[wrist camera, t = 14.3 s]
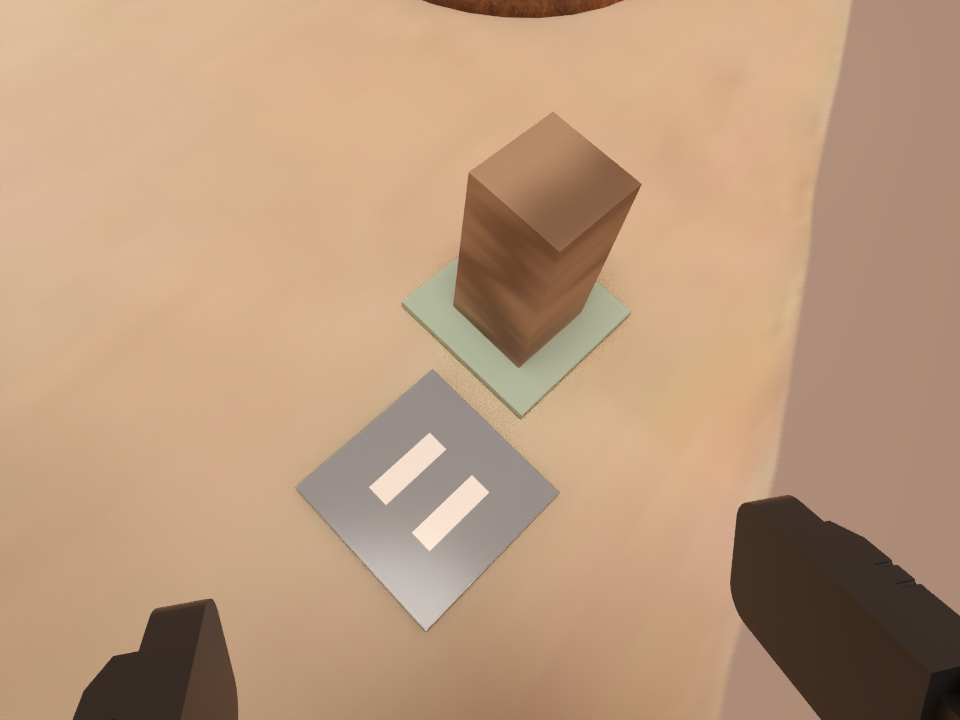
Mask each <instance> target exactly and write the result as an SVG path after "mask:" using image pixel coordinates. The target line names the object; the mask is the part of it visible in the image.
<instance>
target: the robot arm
mask: <svg viewBox="0 0 960 720" xmlns="http://www.w3.org/2000/svg"><path fill="white" fill-rule="evenodd" d="M730 585H731V593H732V598H733V601H734V604H735V607H736V609H737V612H738V614H739V616H740V617H741V619H742V621H743V622H744V623H745V625H746V626H747V627H748V628H749V630H750V631H751V632H752V633H753V635H754V636H755V637H756V638H757V640H758V641H759V642H760V643H761V645H762V646H763V647H764V649H765V650H766V651H767V652H768V653H769V655H770V656H771V657H772V659H773V660H774V661H775V662H776V664H777V665H778V666H779V667H780V669H781V670H782V671H783V672H784V674H785V675H786V676H787V677H788V679H789V680H790V681H791V682H792V684H793V685H794V686H795V687H796V689H797V690H798V691H799V692H800V693H801V695H802V696H803V697H804V699H805V700H806V701H807V702H808V704H809V705H810V706H811V707H812V709H813V710H814V711H815V712H816V714H817V715H818V716H819V717H820V719H821V720H960V616H959V615H958V614H957V613H955V612H954V611H953V610H952V609H951V608H949V607H948V606H947V605H946V604H944V603H943V602H942V601H941V600H940V599H938V598H937V597H936V596H935V595H934V594H932V593H931V592H930V591H929V590H927V589H926V588H925V587H924V586H923V585H921V584H918V585H917V584H916V583H915V579H914V578H913V577H912V576H910V575H909V574H908V573H907V572H906V571H904V570H903V569H902V568H900V567H899V566H898V565H893V564H892V560H891V559H890V558H888V557H887V556H886V555H885V554H884V553H882V552H881V551H880V550H879V549H877V548H876V547H875V546H874V545H873V544H871V543H870V542H869V541H868V540H867V539H865V538H864V537H862V536H860V535H858V534H855V533H854V532H851V531H849V530H847V529H845V528H843V527H841V526H839V525H837V524H835V523H833V522H831V521H826V522H824V521H823V520H821V519H820V518H819V517H818V516H817V515H815V514H814V513H813V512H812V511H811V510H809V508H807V507H806V506H805V505H804V504H803V503H801V502H800V501H799V500H798V499H796V498H795V497H793V496H789V495H785V496H779V497H774V498H768V499H763V500H757V501H752V502H747V503H744V504H742V505H741V506H740V508H739V509H738V512H737V518H736V529H735V539H734V549H733V559H732V569H731V580H730ZM73 720H238V699H237V689H236V683H235V678H234V674H233V670H232V666H231V662H230V658H229V654H228V650H227V646H226V642H225V638H224V634H223V630H222V626H221V622H220V618H219V614H218V610H217V607H216V604H215V602H214V601H213V599H205V600H200V601H194V602H189V603H183V604H178V605H172V606H167V607H161V608H156V609H154V610H153V611H152V613H151V615H150V618H149V621H148V624H147V627H146V630H145V633H144V636H143V639H142V643H141V646H140V649H139V651H138V652H133V653H127V654H122V655H117V656H113V657H112V658H111V659H110V661H109V662H108V663H107V664H106V665H105V666H104V668H103V669H102V670H101V671H100V672H99V674H98V675H97V676H96V677H95V678H94V679H93V681H92V682H91V683H90V684H89V685H88V687H87V688H86V689H85V690H84V692H83V694H82V697H81V700H80V702H79V705H78V707H77V710H76V712H75V715H74V717H73Z"/></svg>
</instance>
